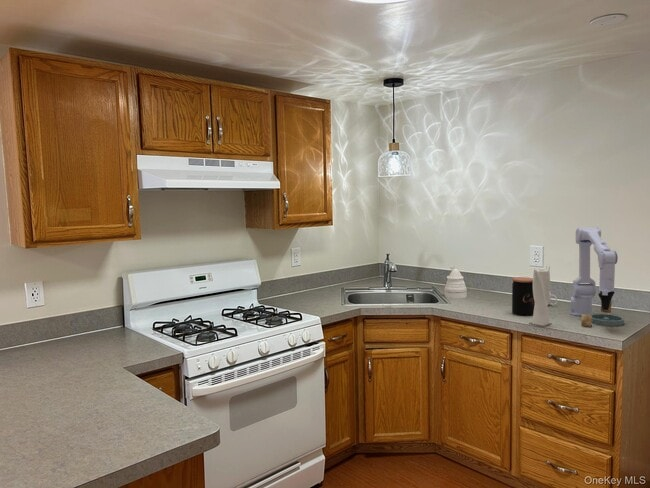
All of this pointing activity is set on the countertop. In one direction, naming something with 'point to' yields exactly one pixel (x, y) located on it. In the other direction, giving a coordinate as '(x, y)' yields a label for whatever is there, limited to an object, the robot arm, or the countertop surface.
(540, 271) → the skyscraper
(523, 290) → the coffee jar
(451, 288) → the honey pot
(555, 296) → the mug
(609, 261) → the robot arm
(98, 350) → the countertop surface
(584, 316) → the oak bead
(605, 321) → the ring dish
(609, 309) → the walnut bead
